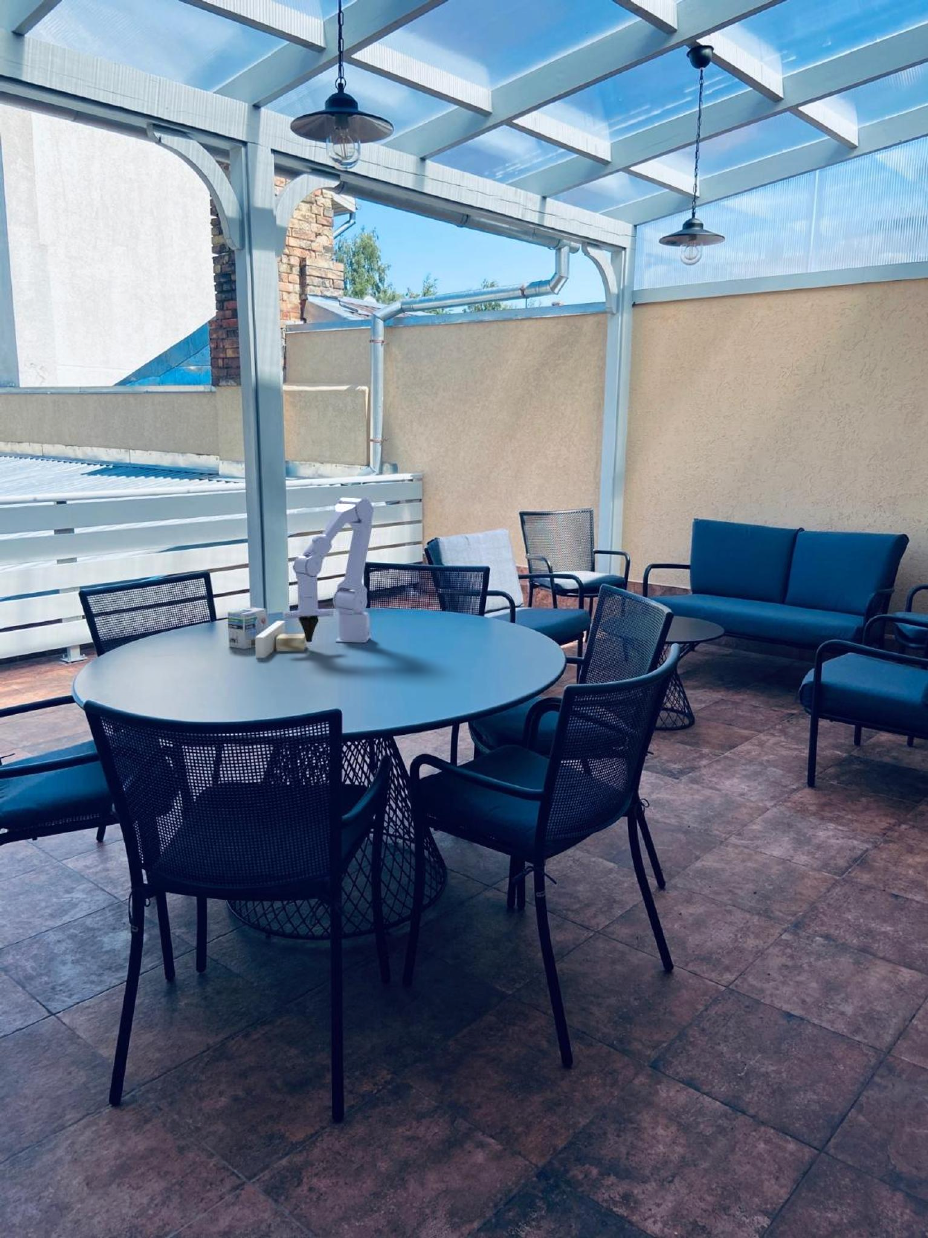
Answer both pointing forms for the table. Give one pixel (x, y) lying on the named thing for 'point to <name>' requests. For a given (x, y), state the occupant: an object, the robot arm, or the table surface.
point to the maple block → (290, 642)
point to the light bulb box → (246, 626)
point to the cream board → (268, 639)
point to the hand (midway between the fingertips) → (308, 641)
